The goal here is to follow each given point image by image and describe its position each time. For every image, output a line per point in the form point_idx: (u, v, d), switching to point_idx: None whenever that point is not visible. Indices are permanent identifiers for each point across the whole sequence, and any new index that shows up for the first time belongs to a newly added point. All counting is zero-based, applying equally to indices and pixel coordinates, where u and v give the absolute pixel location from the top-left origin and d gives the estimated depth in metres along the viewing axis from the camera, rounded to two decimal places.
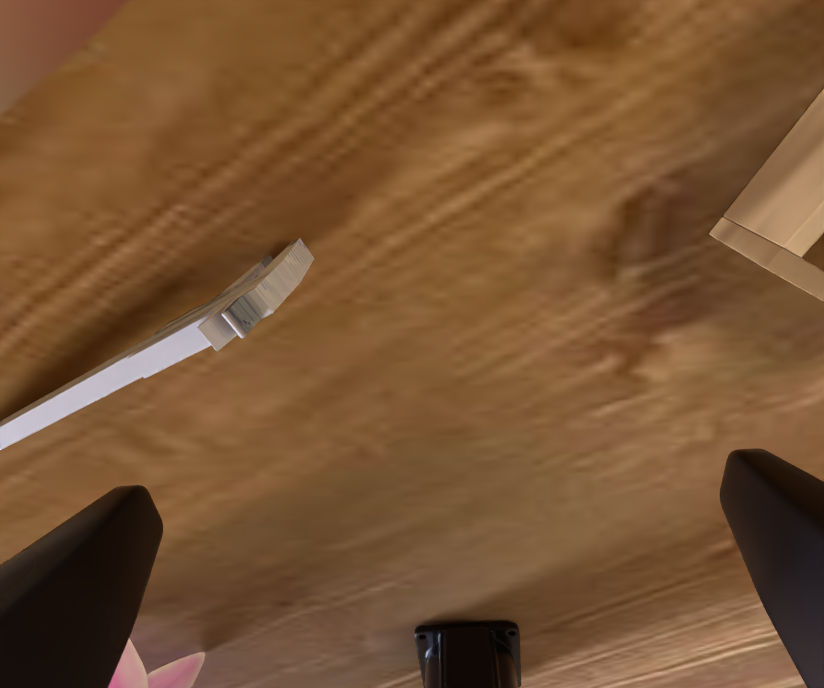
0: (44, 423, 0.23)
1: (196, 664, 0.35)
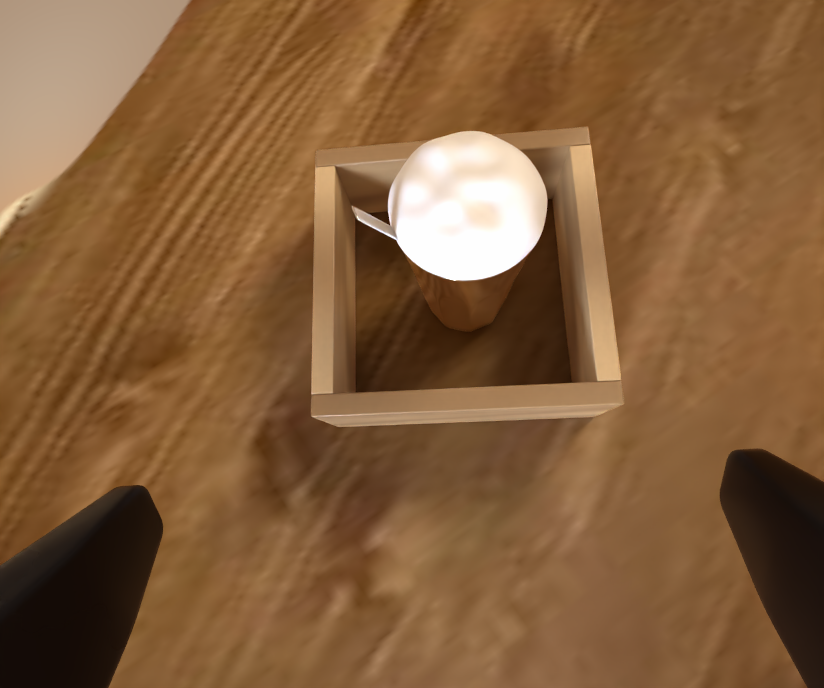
0: None
1: None
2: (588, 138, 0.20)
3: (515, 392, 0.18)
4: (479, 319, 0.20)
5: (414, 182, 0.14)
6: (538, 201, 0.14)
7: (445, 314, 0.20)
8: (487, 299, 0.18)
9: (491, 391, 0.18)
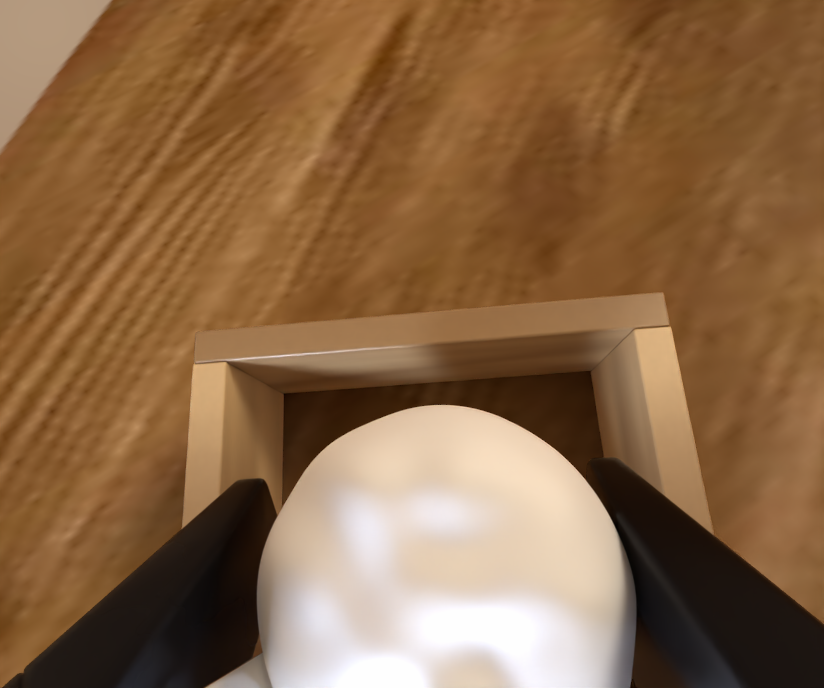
0: None
1: None
2: (665, 314, 0.11)
3: None
4: None
5: (305, 575, 0.06)
6: (620, 633, 0.05)
7: None
8: None
9: None
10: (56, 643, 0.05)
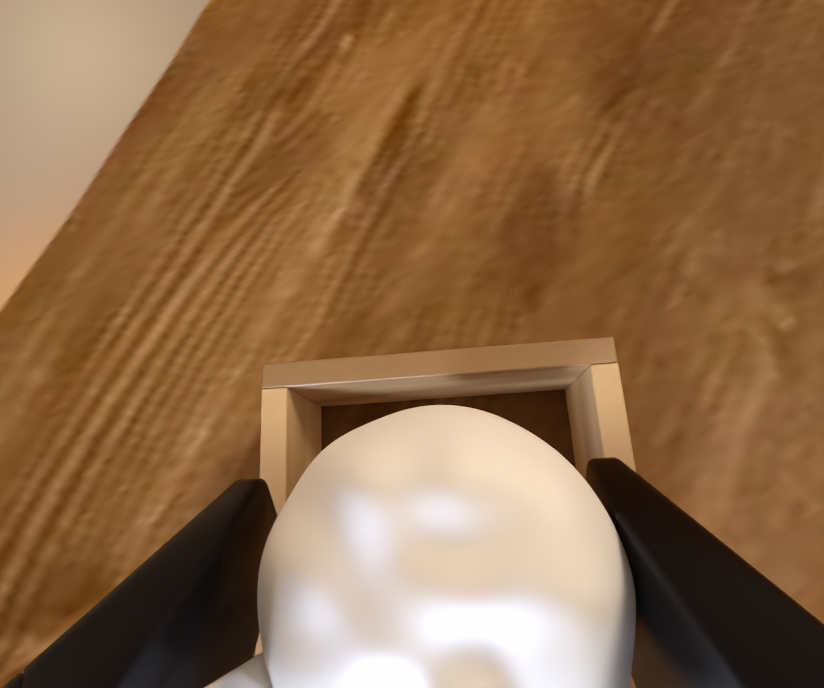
0: None
1: None
2: (614, 354, 0.15)
3: None
4: None
5: (305, 575, 0.06)
6: (619, 633, 0.06)
7: None
8: None
9: None
10: (56, 643, 0.05)
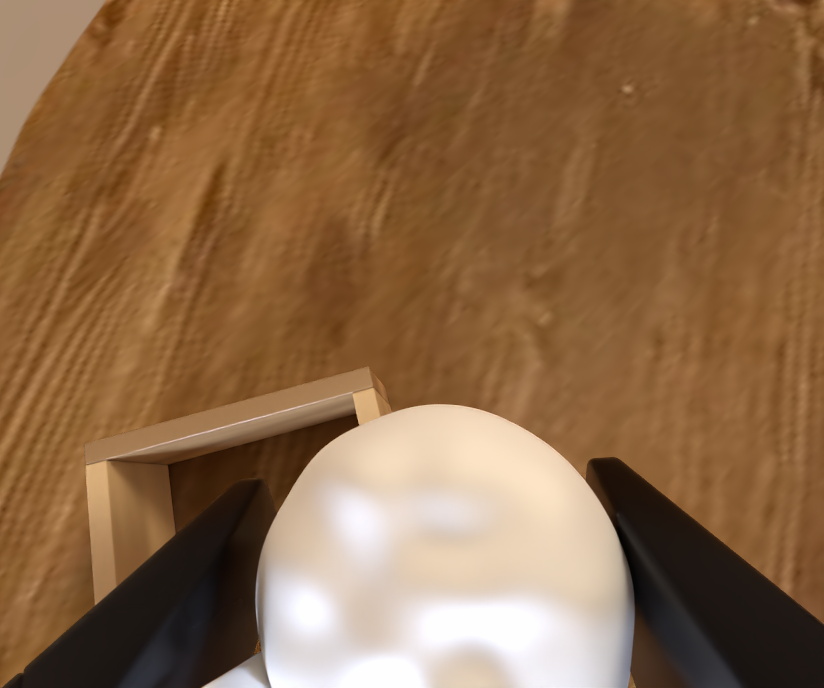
0: None
1: None
2: (370, 380, 0.18)
3: None
4: None
5: (304, 574, 0.06)
6: (619, 632, 0.06)
7: None
8: None
9: None
10: (56, 643, 0.05)
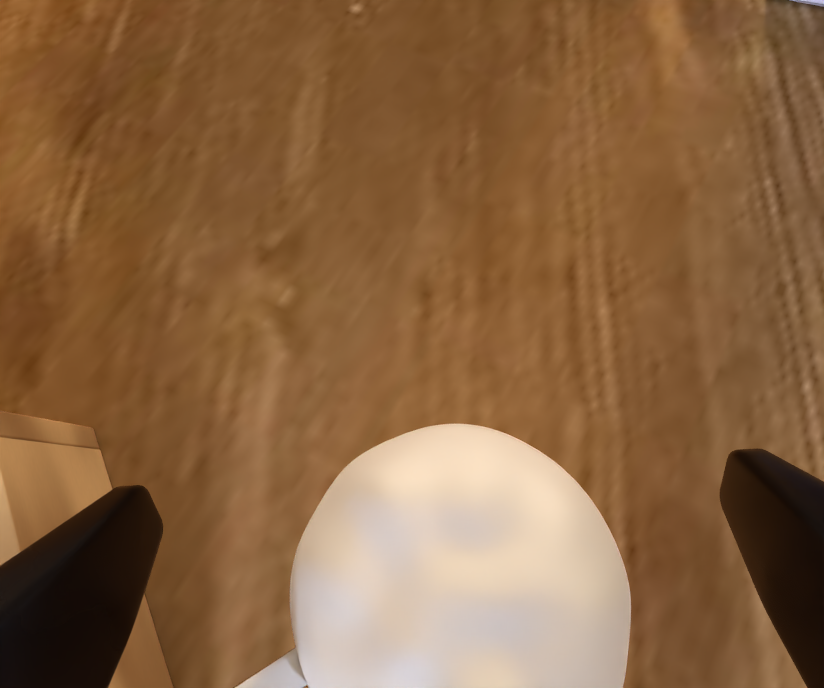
0: None
1: None
2: None
3: None
4: None
5: (338, 578, 0.07)
6: (616, 629, 0.06)
7: None
8: None
9: None
10: None
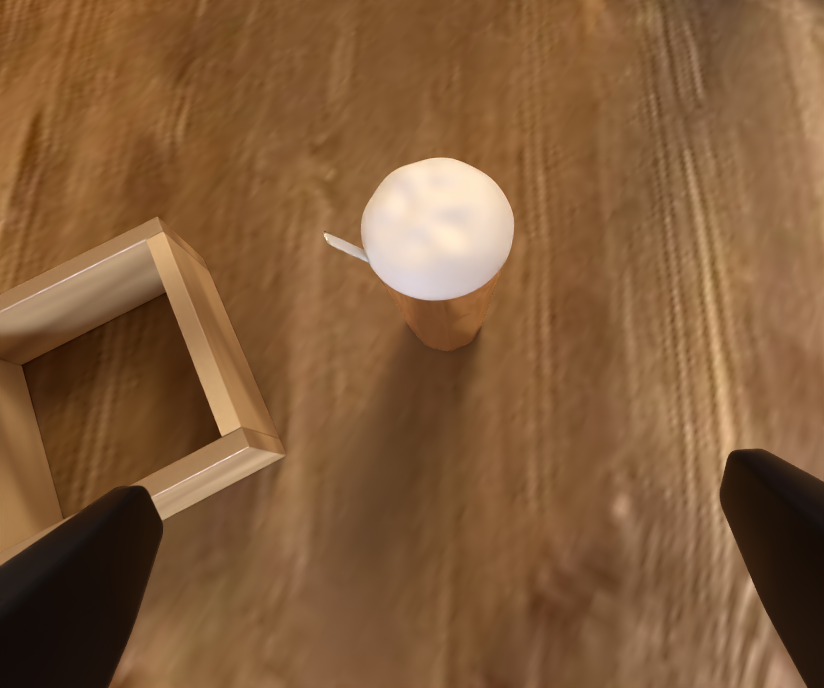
0: None
1: None
2: (159, 226, 0.21)
3: (153, 479, 0.18)
4: (458, 338, 0.21)
5: (384, 207, 0.15)
6: (504, 222, 0.15)
7: (424, 334, 0.20)
8: (462, 318, 0.18)
9: None
10: None
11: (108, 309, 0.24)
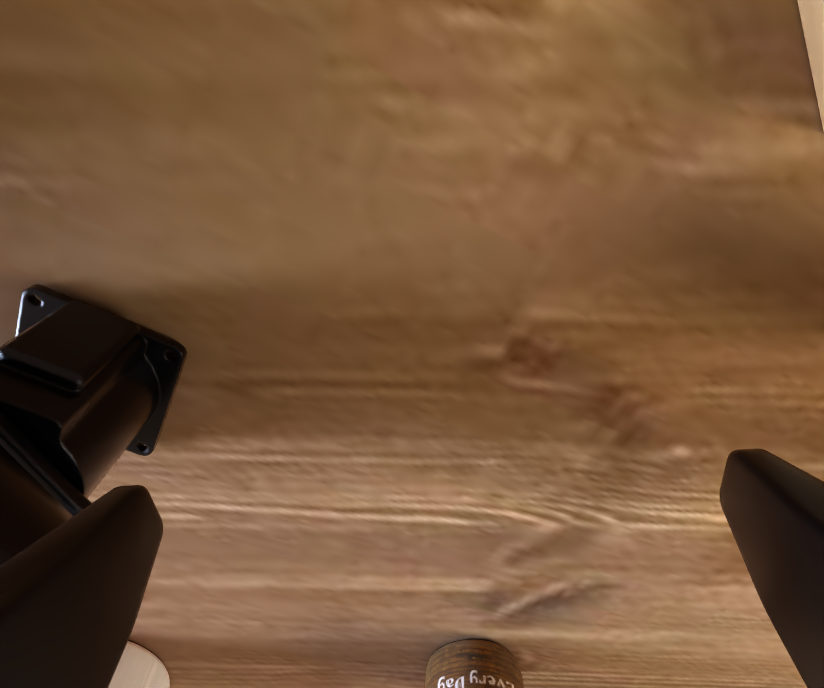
0: None
1: None
2: None
3: None
4: None
5: None
6: None
7: None
8: None
9: None
10: None
11: None
